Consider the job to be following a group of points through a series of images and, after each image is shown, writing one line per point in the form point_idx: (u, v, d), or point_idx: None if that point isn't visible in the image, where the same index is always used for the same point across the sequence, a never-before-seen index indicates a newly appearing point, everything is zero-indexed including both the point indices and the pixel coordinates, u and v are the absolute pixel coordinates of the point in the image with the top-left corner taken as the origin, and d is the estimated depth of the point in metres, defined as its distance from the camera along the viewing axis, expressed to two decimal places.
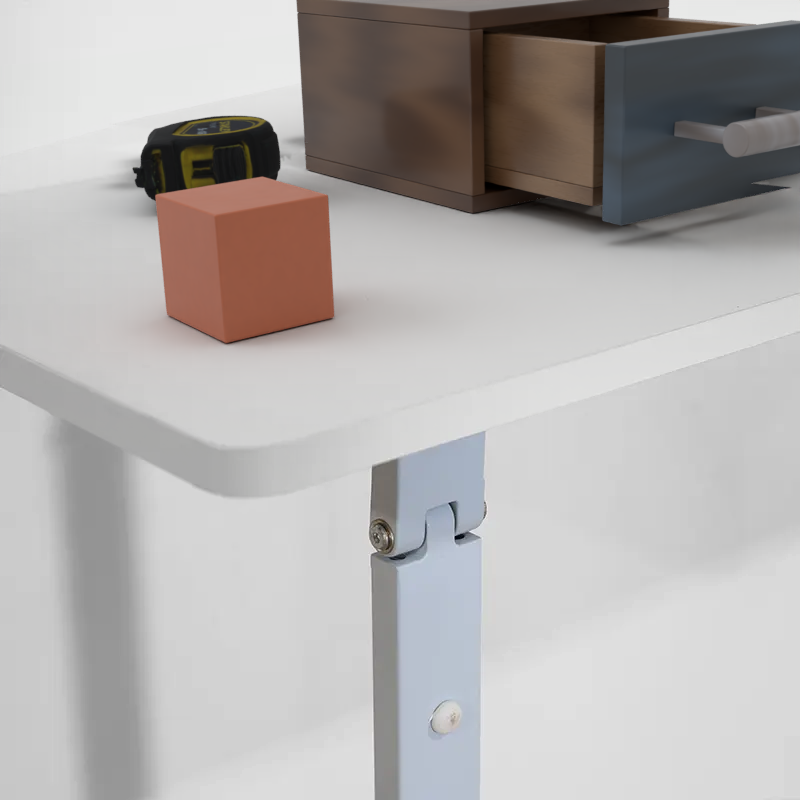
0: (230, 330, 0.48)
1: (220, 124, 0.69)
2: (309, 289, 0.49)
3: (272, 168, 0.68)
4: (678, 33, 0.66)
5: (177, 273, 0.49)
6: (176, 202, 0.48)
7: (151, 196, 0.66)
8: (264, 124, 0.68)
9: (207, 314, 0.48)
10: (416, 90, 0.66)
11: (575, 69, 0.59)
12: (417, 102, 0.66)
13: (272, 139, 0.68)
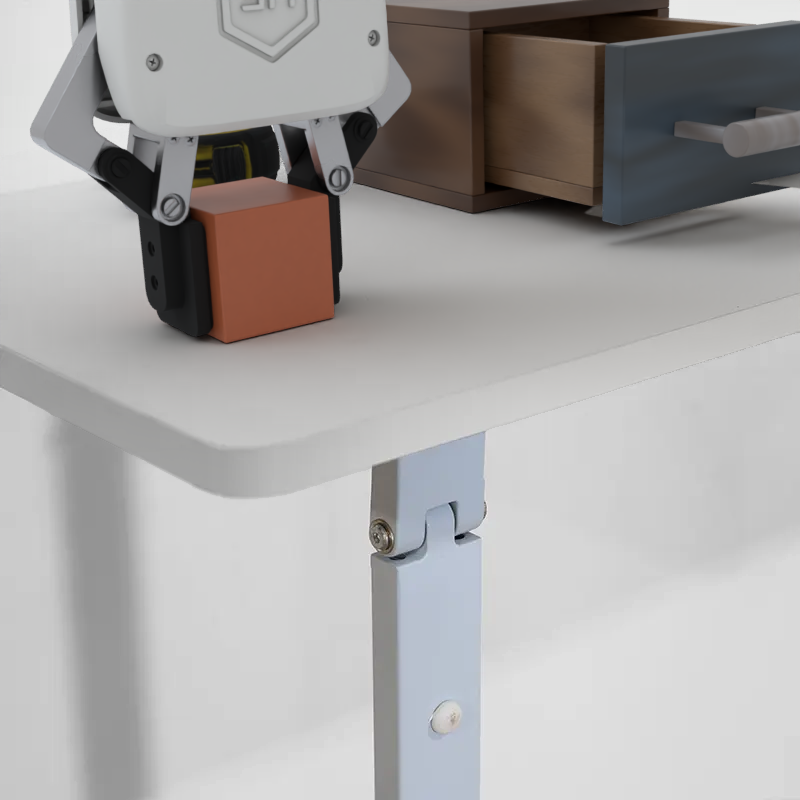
0: (230, 330, 0.48)
1: None
2: (309, 289, 0.49)
3: (271, 168, 0.68)
4: (678, 33, 0.66)
5: None
6: None
7: None
8: None
9: None
10: (416, 90, 0.66)
11: (575, 69, 0.59)
12: (417, 102, 0.66)
13: (272, 139, 0.68)
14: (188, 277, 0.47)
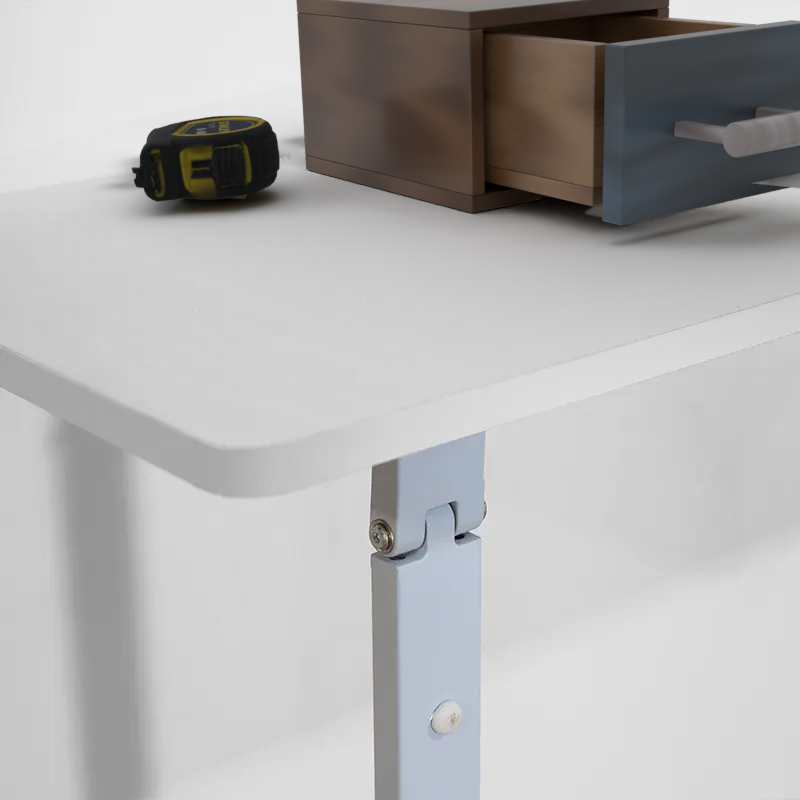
0: None
1: (219, 124, 0.69)
2: None
3: (271, 168, 0.68)
4: (678, 33, 0.66)
5: None
6: None
7: (150, 196, 0.66)
8: (263, 124, 0.68)
9: None
10: (416, 90, 0.66)
11: (575, 69, 0.59)
12: (417, 102, 0.66)
13: (271, 139, 0.68)
14: None
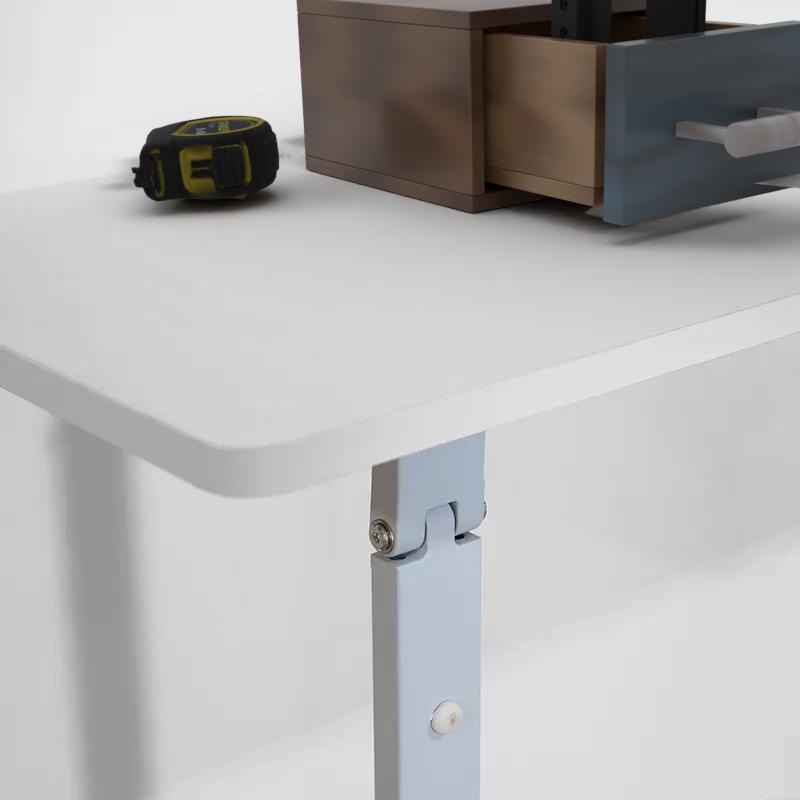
0: None
1: (219, 124, 0.69)
2: None
3: (270, 168, 0.68)
4: None
5: None
6: None
7: (150, 196, 0.66)
8: (263, 124, 0.68)
9: None
10: (416, 90, 0.66)
11: (576, 69, 0.59)
12: (417, 102, 0.66)
13: (271, 139, 0.68)
14: (595, 26, 0.60)
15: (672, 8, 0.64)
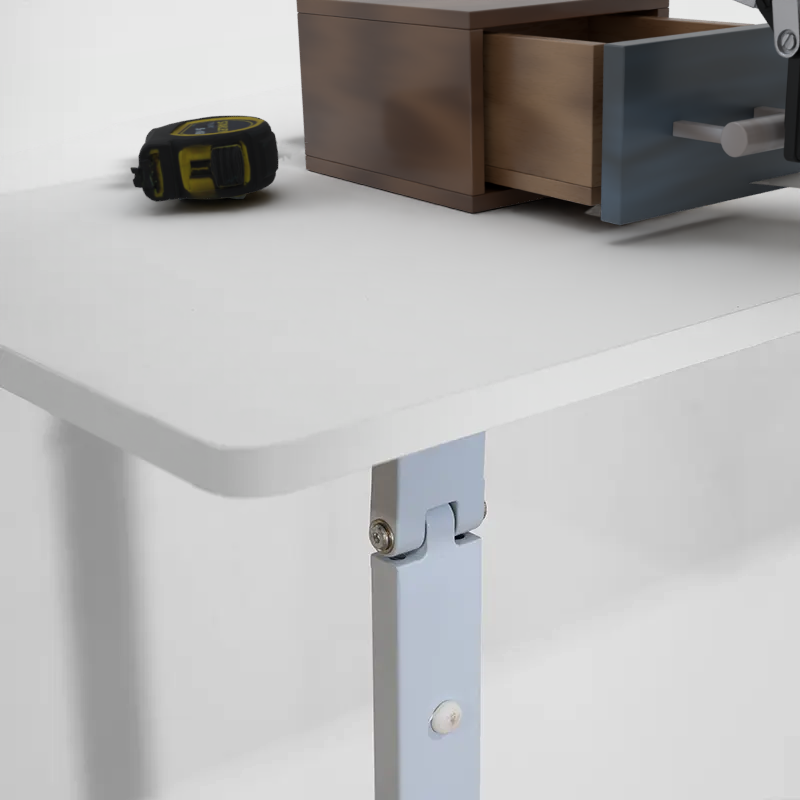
0: None
1: (218, 124, 0.69)
2: None
3: (270, 168, 0.68)
4: (677, 33, 0.66)
5: None
6: None
7: (149, 196, 0.66)
8: (262, 124, 0.68)
9: None
10: (416, 90, 0.66)
11: (573, 69, 0.59)
12: (417, 102, 0.66)
13: (270, 139, 0.68)
14: None
15: None
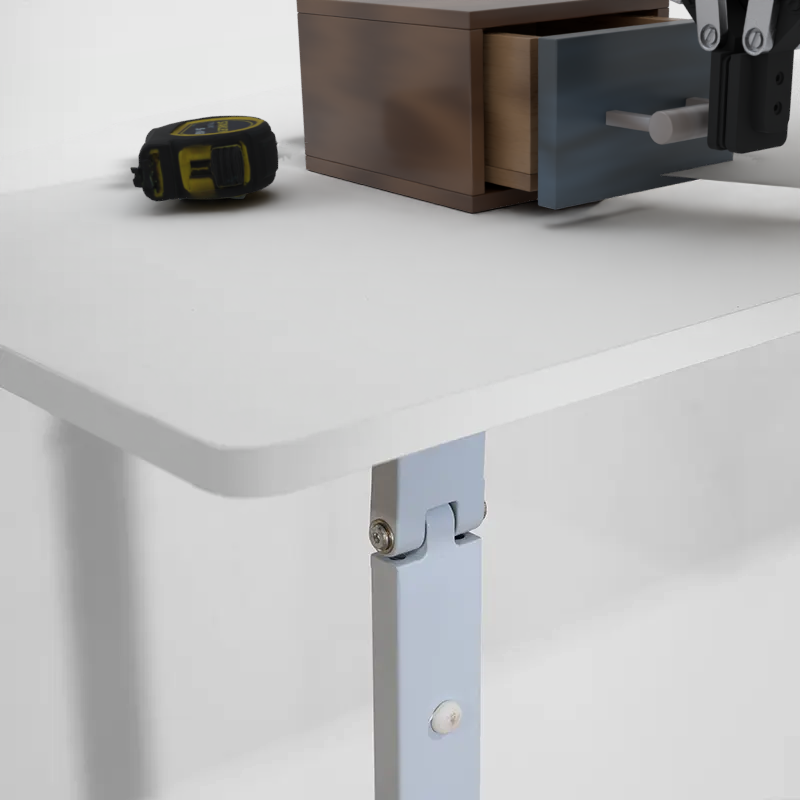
0: None
1: (218, 124, 0.69)
2: None
3: (269, 168, 0.68)
4: (617, 28, 0.69)
5: None
6: None
7: (149, 196, 0.66)
8: (262, 124, 0.68)
9: None
10: (416, 90, 0.66)
11: (512, 61, 0.62)
12: (417, 102, 0.66)
13: (270, 139, 0.68)
14: None
15: None
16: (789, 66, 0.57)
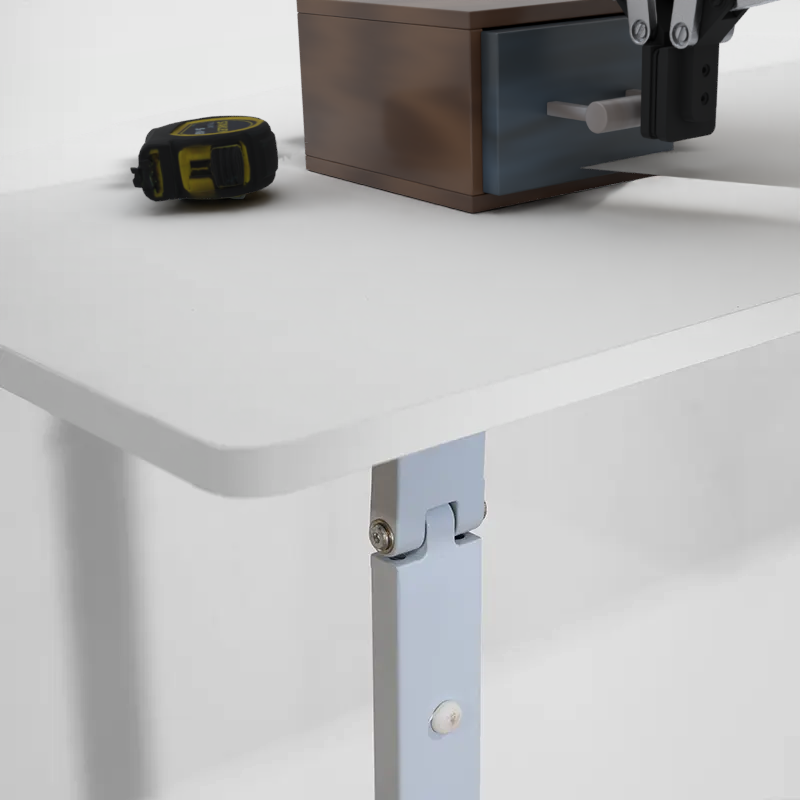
0: None
1: (218, 124, 0.69)
2: None
3: (269, 168, 0.68)
4: None
5: None
6: None
7: (149, 196, 0.66)
8: (262, 124, 0.68)
9: None
10: (416, 90, 0.66)
11: None
12: (417, 102, 0.66)
13: (270, 139, 0.68)
14: None
15: None
16: (715, 59, 0.60)
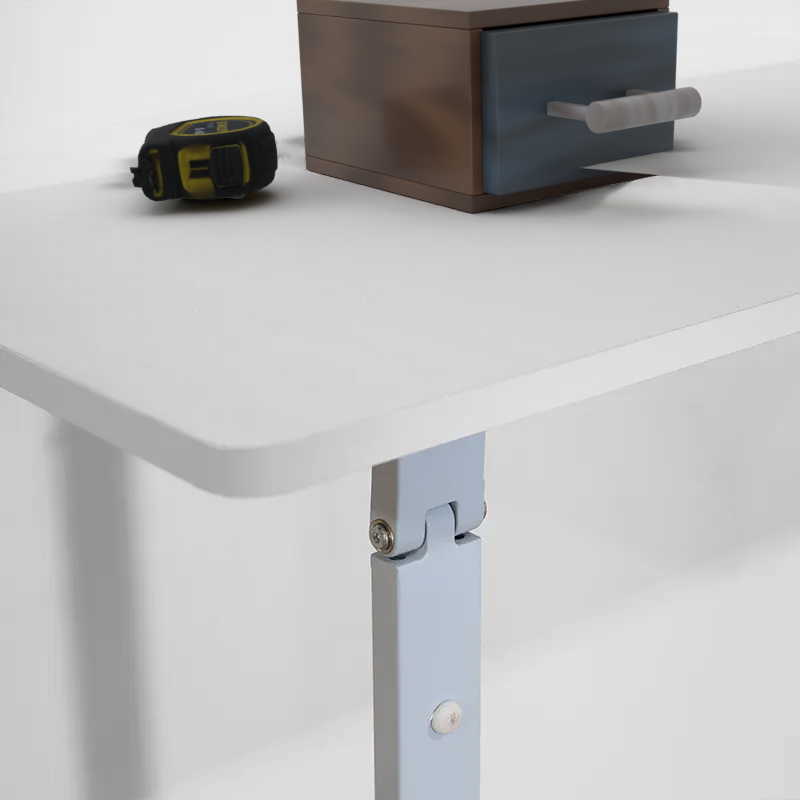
0: None
1: (217, 124, 0.69)
2: None
3: (269, 168, 0.68)
4: None
5: None
6: None
7: (148, 196, 0.66)
8: (261, 124, 0.68)
9: None
10: (416, 90, 0.66)
11: None
12: (417, 102, 0.66)
13: (270, 139, 0.68)
14: None
15: None
16: None
